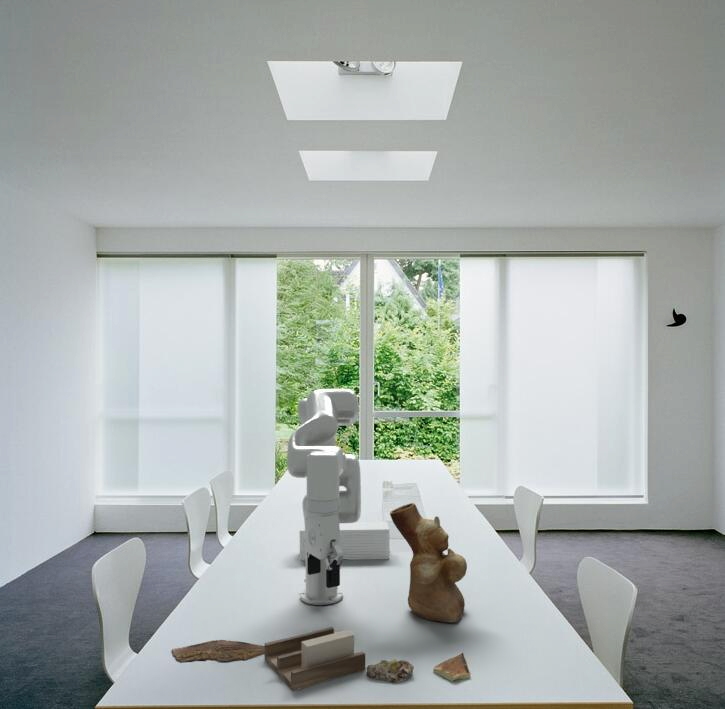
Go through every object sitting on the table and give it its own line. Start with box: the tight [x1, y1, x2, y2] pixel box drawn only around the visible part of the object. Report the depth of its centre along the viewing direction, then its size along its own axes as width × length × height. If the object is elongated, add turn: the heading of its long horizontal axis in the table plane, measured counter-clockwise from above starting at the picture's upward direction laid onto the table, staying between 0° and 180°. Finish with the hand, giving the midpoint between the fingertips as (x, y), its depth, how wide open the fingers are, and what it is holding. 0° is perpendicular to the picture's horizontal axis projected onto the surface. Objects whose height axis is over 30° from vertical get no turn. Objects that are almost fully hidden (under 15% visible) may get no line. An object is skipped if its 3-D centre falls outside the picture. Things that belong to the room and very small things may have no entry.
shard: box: [432, 652, 471, 682], centre depth 143 cm, size 11×8×2 cm
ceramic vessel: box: [389, 502, 468, 623], centre depth 177 cm, size 16×22×30 cm
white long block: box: [299, 521, 391, 561], centre depth 229 cm, size 32×11×11 cm, turn 92°
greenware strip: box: [301, 629, 355, 668], centre depth 144 cm, size 3×12×6 cm, turn 120°
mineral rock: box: [365, 659, 415, 683], centre depth 142 cm, size 11×4×8 cm
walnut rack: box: [264, 626, 366, 691], centre depth 146 cm, size 17×18×4 cm
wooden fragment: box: [171, 639, 265, 663], centre depth 153 cm, size 26×11×1 cm, turn 91°
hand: (323, 579), depth 144 cm, fingers open, 9 cm apart
